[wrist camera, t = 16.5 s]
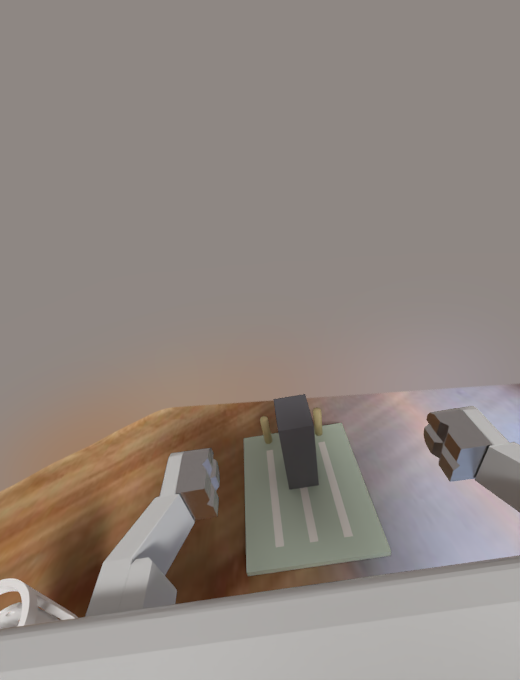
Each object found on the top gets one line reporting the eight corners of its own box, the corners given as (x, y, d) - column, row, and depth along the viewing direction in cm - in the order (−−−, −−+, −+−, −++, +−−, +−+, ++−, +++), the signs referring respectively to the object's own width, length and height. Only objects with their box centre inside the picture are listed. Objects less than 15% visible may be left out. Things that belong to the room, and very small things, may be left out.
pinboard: (341, 426, 47) (341, 400, 44) (390, 555, 32) (395, 530, 29) (244, 442, 48) (237, 417, 44) (248, 576, 33) (237, 553, 29)
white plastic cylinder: (55, 765, 24) (-93, 758, 16) (17, 700, 27) (-121, 666, 19) (124, 656, 29) (37, 606, 21) (84, 612, 32) (-3, 555, 24)
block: (310, 451, 43) (304, 392, 37) (318, 485, 39) (313, 425, 32) (284, 455, 43) (273, 397, 37) (289, 489, 39) (278, 431, 32)
